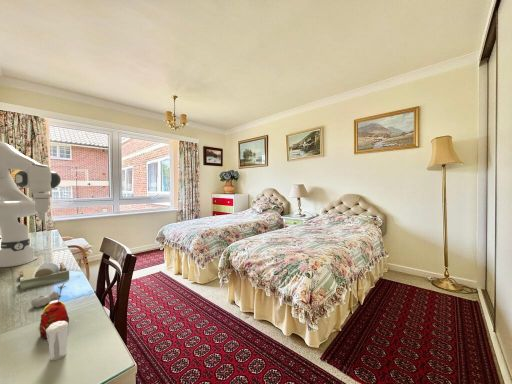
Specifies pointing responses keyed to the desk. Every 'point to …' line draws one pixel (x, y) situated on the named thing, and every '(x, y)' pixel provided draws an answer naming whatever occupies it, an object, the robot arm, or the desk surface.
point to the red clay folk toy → (53, 315)
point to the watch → (53, 302)
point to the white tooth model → (57, 339)
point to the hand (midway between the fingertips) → (41, 220)
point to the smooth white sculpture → (44, 299)
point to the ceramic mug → (47, 269)
